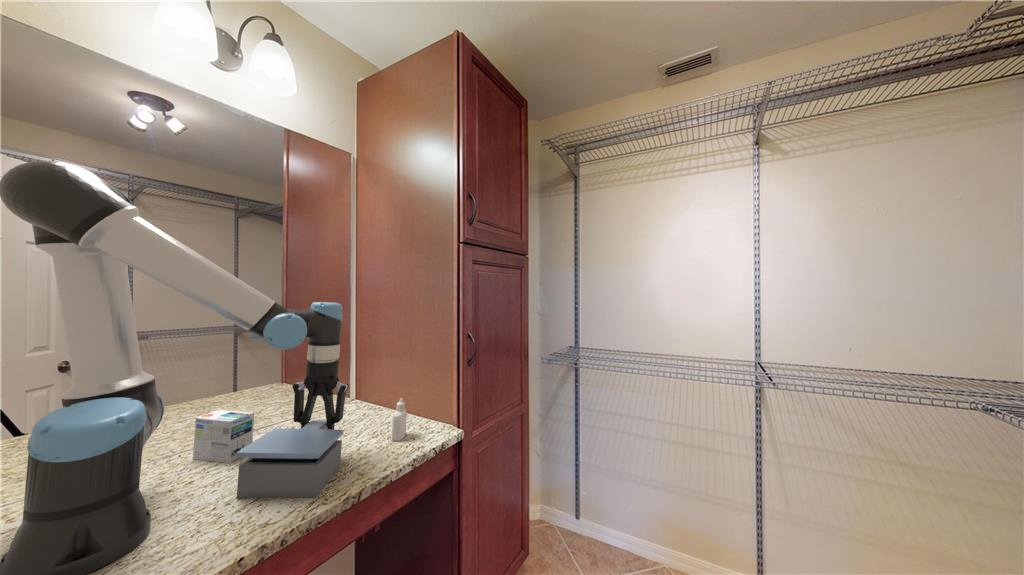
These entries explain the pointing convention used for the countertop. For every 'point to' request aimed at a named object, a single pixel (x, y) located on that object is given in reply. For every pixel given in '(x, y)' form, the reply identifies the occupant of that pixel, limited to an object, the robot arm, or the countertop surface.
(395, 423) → the eye dropper bottle
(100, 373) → the robot arm
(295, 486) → the tub
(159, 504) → the countertop surface
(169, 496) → the countertop surface
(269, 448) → the lid
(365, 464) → the countertop surface
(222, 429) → the light bulb box
